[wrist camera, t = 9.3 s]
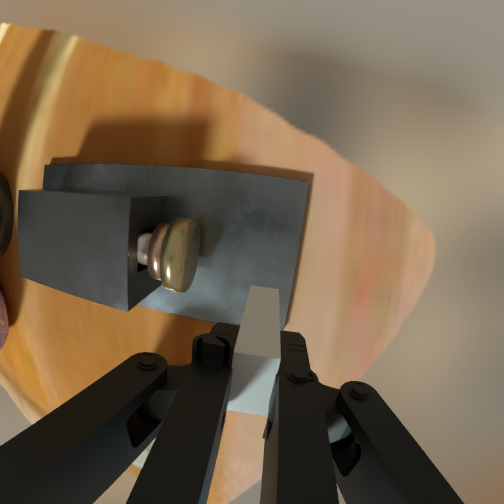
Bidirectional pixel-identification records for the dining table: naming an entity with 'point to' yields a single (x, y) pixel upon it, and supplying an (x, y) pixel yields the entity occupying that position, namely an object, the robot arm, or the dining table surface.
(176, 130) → the dining table surface
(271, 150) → the dining table surface
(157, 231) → the shaft
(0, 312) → the bowl of food
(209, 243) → the bearing block
